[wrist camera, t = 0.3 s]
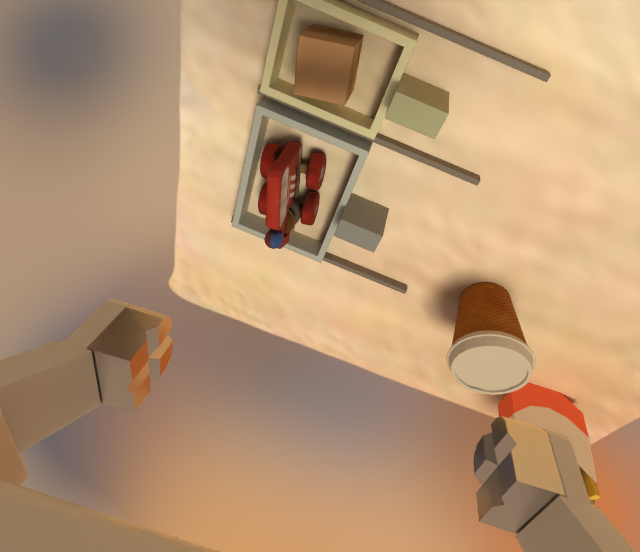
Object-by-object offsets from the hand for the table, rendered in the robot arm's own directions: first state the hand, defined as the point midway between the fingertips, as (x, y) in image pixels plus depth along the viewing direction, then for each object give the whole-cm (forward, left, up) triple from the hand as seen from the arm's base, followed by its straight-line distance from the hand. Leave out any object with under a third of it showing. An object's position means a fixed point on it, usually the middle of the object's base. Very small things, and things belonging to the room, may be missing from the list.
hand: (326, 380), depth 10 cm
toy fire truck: (+19, -7, -39) cm, 44 cm away
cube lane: (+4, -4, -39) cm, 39 cm away
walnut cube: (+4, -7, -39) cm, 40 cm away
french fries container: (+38, +39, -39) cm, 67 cm away
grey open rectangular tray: (+19, -4, -39) cm, 43 cm away
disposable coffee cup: (+25, +22, -39) cm, 51 cm away
